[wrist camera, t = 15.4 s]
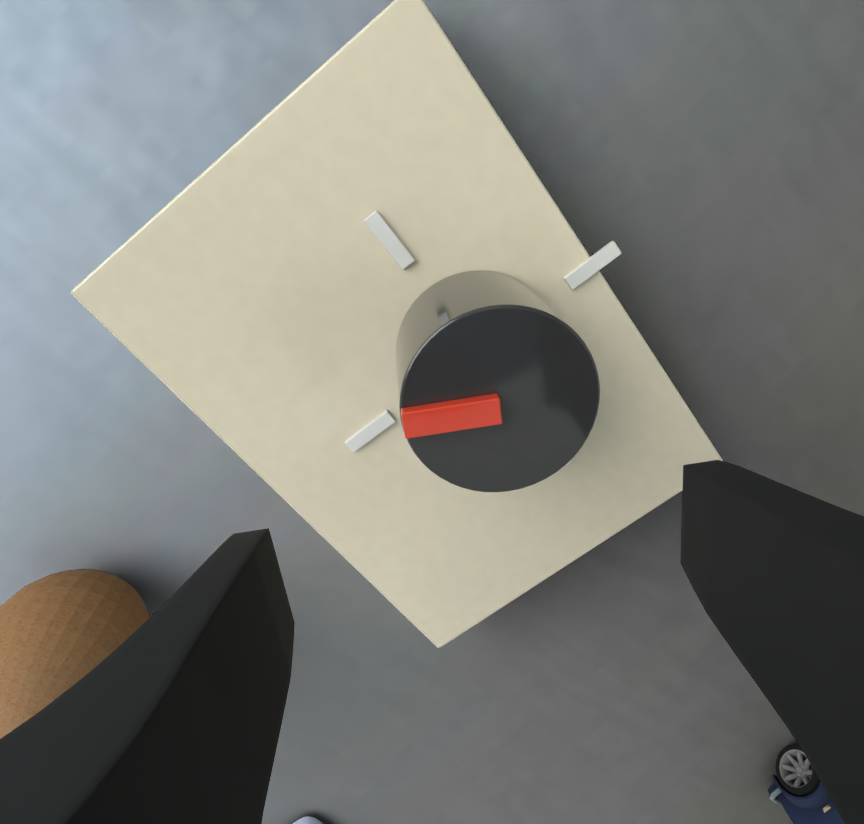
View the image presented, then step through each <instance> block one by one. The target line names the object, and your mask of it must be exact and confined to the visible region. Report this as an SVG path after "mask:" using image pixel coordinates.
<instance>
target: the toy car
mask: <svg viewBox="0 0 864 824" xmlns="http://www.w3.org/2000/svg"><path fill="white" fill-rule="evenodd" d="M803 759H806V760H805V761H804V760H803ZM776 771H777V776H778V777H777V776H775V775H772V778H773V780H774V781H775V783H773V784H772V785H771V786H770V787H769V789H768V792H769V798H770V800H771V801H773V802H775V803H777V804H779V805H781V806H783V808H784V809H785V811H786V812H787V814H788V816H789V817H790V819H791V821H792V822H793V824H845V823H844V821H843V819H842V818H841V816H840V814H839V812H838V811H837V809H836V807H835V805H834V804H833V802H832V800H831V798H830V797H829V795H828V793H827V791H826V790H825V788H824V786H823V785H822V783H821V781H820V779H819V778H818V776H817V774H816V772H815V771H814V769H813V767H812V765H811V764H810V762H809V760H808V759H807V757H806V755H805V753H804V752H803V750H802V749H801V747H800V746H799V745H791V746H788V747H786V748H785V749H783V751H782V752H781V753H780V754H779V756H778V759H777V763H776ZM796 778H797V779H796ZM795 779H796V780H795Z"/></svg>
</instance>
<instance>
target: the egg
mask: <svg viewBox="0 0 864 824" xmlns="http://www.w3.org/2000/svg"><path fill="white" fill-rule="evenodd" d="M149 618H150V614H149V611H148V609H147V607H146V605H145V603H144V601H143V600H142V598H141V596H140V594H139V593H138V592H137V591H136V590H135V589H134V588H133V587H132V586H131V585H130V584H128V583H127V582H126V581H124V580H123V579H121V578H119V577H117V576H115V575H112V574H110V573H107V572H104V571H99V570H94V569H77V570H69V571H63V572H59V573H55V574H51V575H49V576H46V577H44V578H42V579H39V580H37V581H35V582H33V583H31V584H29V585H27V586H25V587H24V588H22V589H21V590H20V591H19V592H17V593H16V594H15V595H14V596H12V597H11V598H10V599H9V600H8V601H6V602H5V603H4V604H3V605H2V606H0V739H1V738H2V737H4V736H5V735H7V734H8V733H10V732H11V731H12V730H14V729H15V728H17V727H18V726H20V725H21V724H22V723H24V722H25V721H27V720H28V719H30V718H31V717H32V716H34V715H35V714H37V713H38V712H39V711H41V710H42V709H43V708H45V707H46V706H47V705H49V704H50V703H51V702H53V701H54V700H55V699H56V698H58V697H59V696H60V695H62V694H63V693H64V692H65V691H67V690H68V689H69V688H70V687H72V686H73V685H74V684H75V683H77V682H78V681H79V680H80V679H82V678H83V677H84V676H85V675H87V674H88V673H89V672H90V671H91V670H93V669H94V668H95V667H96V666H97V665H99V664H100V663H101V662H102V661H103V660H104V659H105V658H107V657H108V656H109V655H110V654H111V653H112V652H113V651H115V650H116V649H117V648H118V647H119V646H120V645H121V644H122V643H123V642H124V641H125V640H126V639H127V638H128V637H130V636H131V635H132V634H133V633H134V632H135V631H136V630H137V629H138V628H139V627H140V626H141V625H142V624H143V623H145V622H146V621H147V620H148V619H149Z"/></svg>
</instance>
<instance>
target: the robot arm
mask: <svg viewBox="0 0 864 824" xmlns="http://www.w3.org/2000/svg"><path fill="white" fill-rule="evenodd" d="M681 565H682V567H683V569H684V571H685V573H686V575H687V577H688V579H689V581H690V583H691V585H692V587H693V589H694V591H695V592H696V594H697V596H698V598H699V600H700V602H701V604H702V605H703V607H704V609H705V611H706V613H707V614H708V616H709V617H710V618H711V620H712V621H713V623H714V624H715V626H716V627H717V629H718V630H719V632H720V633H721V634H722V636H723V637H724V639H725V640H726V642H727V643H728V644H729V646H730V647H731V649H732V650H733V652H734V653H735V654H736V656H737V657H738V659H739V660H740V661H741V663H742V664H743V666H744V667H745V668H746V670H747V671H748V673H749V674H750V675H751V677H752V678H753V679H754V681H755V682H756V684H757V685H758V687H759V688H760V689H761V691H762V692H763V694H764V695H765V696H766V698H767V699H768V701H769V702H770V703H771V705H772V706H773V708H774V709H775V710H776V712H777V713H778V715H779V716H780V717H781V719H782V720H783V722H784V723H785V724H786V726H787V727H788V729H789V730H790V732H791V733H792V735H793V737H794V738H795V740H796V741H797V743H798V744H799V746H800V747H801V749H802V750H803V752H804V753H805V755H806V757H807V759H808V760H809V762H810V764H811V765H812V767H813V769H814V771H815V772H816V774H817V776H818V778H819V779H820V781H821V783H822V785H823V786H824V788H825V790H826V791H827V793H828V795H829V797H830V798H831V800H832V802H833V804H834V805H835V807H836V809H837V811H838V812H839V814H840V816H841V818H842V819H843V821H844V823H845V824H864V517H863V516H861V515H858V514H855V513H853V512H850V511H848V510H845V509H842V508H840V507H837V506H835V505H832V504H830V503H827V502H825V501H822V500H820V499H817V498H815V497H812V496H810V495H808V494H805V493H803V492H800V491H798V490H795V489H793V488H791V487H788V486H786V485H783V484H781V483H778V482H776V481H774V480H771V479H769V478H766V477H764V476H762V475H759V474H757V473H754V472H752V471H749V470H746V469H744V468H741V467H739V466H736V465H733V464H730V463H727V462H724V461H721V460H713V461H707V462H700V463H694V464H687V465H683V492H682V528H681ZM293 638H294V620H293V616H292V612H291V609H290V605H289V601H288V598H287V594H286V590H285V587H284V583H283V579H282V576H281V572H280V568H279V565H278V561H277V557H276V554H275V550H274V546H273V543H272V539H271V535H270V532H269V529H262V530H256V531H249V532H243V533H236V534H233V535H232V536H230V537H229V538H228V539H227V540H226V541H225V542H224V543H223V544H222V545H221V546H220V547H219V548H218V549H217V550H216V551H215V552H214V553H213V554H212V555H211V556H210V557H209V558H208V559H207V560H206V561H205V562H204V563H203V565H202V566H201V567H200V568H199V569H198V570H197V571H196V572H195V573H194V574H193V575H192V576H191V577H190V578H189V579H188V580H187V581H186V582H185V583H184V584H183V585H182V586H181V587H180V588H179V589H178V590H177V591H176V592H175V593H174V594H173V595H172V596H171V597H170V598H169V599H168V600H167V601H166V602H165V603H164V604H163V606H161V607H160V608H159V609H158V610H157V611H156V612H155V613H154V614H153V615H152V616H151V617H150V618H149V619H148V620H147V621H146V622H145V623H143V624H142V625H141V626H140V627H139V628H138V629H137V630H136V631H135V632H134V633H133V634H132V635H131V636H130V637H128V638H127V639H126V640H125V641H124V642H123V643H122V644H121V645H120V646H119V647H118V648H117V649H116V650H115V651H113V652H112V653H111V654H110V655H109V656H108V657H107V658H105V659H104V660H103V661H102V662H101V663H100V664H99V665H97V666H96V667H95V668H94V669H93V670H91V671H90V672H89V673H88V674H87V675H85V676H84V677H83V678H82V679H80V680H79V681H78V682H77V683H75V684H74V685H73V686H72V687H70V688H69V689H68V690H67V691H65V692H64V693H63V694H62V695H60V696H59V697H58V698H56V699H55V700H54V701H53V702H51V703H50V704H49V705H47V706H46V707H45V708H43V709H42V710H41V711H39V712H38V713H37V714H35V715H34V716H32V717H31V718H30V719H28V720H27V721H25V722H24V723H22V724H21V725H20V726H18V727H17V728H15V729H14V730H12V731H11V732H10V733H8V734H7V735H5V736H4V737H2V738H1V739H0V824H261V822H262V816H263V810H264V805H265V800H266V795H267V791H268V786H269V781H270V776H271V771H272V767H273V762H274V757H275V752H276V747H277V743H278V738H279V733H280V728H281V723H282V718H283V713H284V708H285V703H286V698H287V693H288V688H289V683H290V678H291V666H292V654H293ZM292 824H323V823H322V822H320V821H319V820H317V819H316V818H314V817H309V816H308V817H303V818H300V819H299V820H297V821H295V822H294V823H292Z"/></svg>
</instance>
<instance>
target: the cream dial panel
mask: <svg viewBox="0 0 864 824" xmlns="http://www.w3.org/2000/svg"><path fill="white" fill-rule="evenodd" d="M620 254H622V253H621V251H620V250H619V248H618V246H617V245H616V243H615V242H614V241H611V242H609V243H608V244H607V245H605V246H604V247H603V248H601V249H600V250H599V251H597V252H596V253H595V254H593V255H592V256H591V257H590V255H589V254H588V252H587V251H586V249H585V248H584V246H583V245H582V243H581V241H580V240H579V238H578V237H577V235H576V234H575V232H574V231H573V229H572V228H571V226H570V225H569V223H568V221H567V220H566V218H565V217H564V215H563V214H562V212H561V211H560V209H559V208H558V206H557V205H556V203H555V202H554V200H553V198H552V197H551V195H550V194H549V192H548V191H547V189H546V188H545V186H544V185H543V183H542V182H541V180H540V178H539V177H538V175H537V174H536V172H535V171H534V169H533V168H532V166H531V165H530V163H529V162H528V160H527V159H526V157H525V155H524V154H523V152H522V151H521V149H520V148H519V146H518V145H517V143H516V142H515V140H514V139H513V137H512V136H511V134H510V132H509V131H508V129H507V128H506V126H505V125H504V123H503V122H502V120H501V119H500V117H499V116H498V114H497V112H496V111H495V109H494V108H493V106H492V105H491V103H490V102H489V100H488V99H487V97H486V96H485V94H484V93H483V91H482V89H481V88H480V86H479V85H478V83H477V82H476V80H475V79H474V77H473V76H472V74H471V73H470V71H469V69H468V68H467V66H466V65H465V63H464V62H463V60H462V59H461V57H460V56H459V54H458V53H457V51H456V50H455V48H454V46H453V45H452V43H451V42H450V40H449V39H448V37H447V36H446V34H445V33H444V31H443V30H442V28H441V27H440V25H439V23H438V22H437V20H436V19H435V17H434V16H433V14H432V13H431V11H430V10H429V8H428V7H427V5H426V3H425V2H424V0H394V1H393V2H392V3H391V4H389V5H388V6H387V7H386V8H385V9H384V10H383V11H382V12H381V13H379V14H378V15H377V16H376V17H375V18H374V19H373V20H372V21H371V22H369V23H368V24H367V25H366V26H365V27H364V28H363V29H362V30H361V31H359V32H358V33H357V34H356V35H355V36H354V37H353V38H352V39H351V40H349V41H348V42H347V43H346V44H345V45H344V46H343V47H342V48H341V49H339V50H338V51H337V52H336V53H335V54H334V55H333V56H332V57H331V58H329V59H328V60H327V61H326V62H325V63H324V64H323V65H322V66H321V67H319V68H318V69H317V70H316V71H315V72H314V73H313V74H312V75H310V76H309V77H308V78H307V79H306V80H305V81H304V82H303V83H302V84H300V85H299V86H298V87H297V88H296V89H295V90H294V91H293V92H292V93H290V94H289V95H288V96H287V97H286V98H285V99H284V100H283V101H282V102H280V103H279V104H278V105H277V106H276V107H275V108H274V109H273V110H272V111H270V112H269V113H268V114H267V115H266V116H265V117H264V118H263V119H262V120H260V121H259V122H258V123H257V124H256V125H255V126H254V127H253V128H252V129H250V130H249V131H248V132H247V133H246V134H245V135H244V136H243V137H241V138H240V139H239V140H238V141H237V142H236V143H235V144H234V145H233V146H231V147H230V148H229V149H228V150H227V151H226V152H225V153H224V154H223V155H221V156H220V157H219V158H218V159H217V160H216V161H215V162H214V163H213V164H211V165H210V166H209V167H208V168H207V169H206V170H205V171H204V172H203V173H201V174H200V175H199V176H198V177H197V178H196V179H195V180H194V181H193V182H191V183H190V184H189V185H188V186H187V187H186V188H185V189H184V190H183V191H181V192H180V193H179V194H178V195H177V196H176V197H175V198H174V199H172V200H171V201H170V202H169V203H168V204H167V205H166V206H165V207H164V208H162V209H161V210H160V211H159V212H158V213H157V214H156V215H155V216H154V217H152V218H151V219H150V220H149V221H148V222H147V223H146V224H145V225H144V226H142V227H141V228H140V229H139V230H138V231H137V232H136V233H135V234H134V235H132V236H131V237H130V238H129V239H128V240H127V241H126V242H125V243H124V244H122V245H121V246H120V247H119V248H118V249H117V250H116V251H115V252H114V253H112V254H111V255H110V256H109V257H108V258H107V259H106V260H105V261H103V262H102V263H101V264H100V265H99V266H98V267H97V268H96V269H95V270H93V271H92V272H91V273H90V274H89V275H88V276H87V277H86V278H85V279H83V280H82V281H81V282H80V283H79V284H78V285H77V286H76V287H75V288H73V289H72V291H71V294H72V295H73V296H74V297H75V298H76V299H77V300H78V301H79V302H80V303H81V304H82V305H83V306H84V307H85V308H86V309H87V310H88V311H89V312H90V313H91V314H92V315H94V316H95V317H96V318H97V319H98V320H99V321H100V322H101V323H102V324H103V325H104V326H105V327H106V328H107V329H108V330H109V331H110V332H111V333H112V334H113V335H114V336H115V337H116V338H117V339H118V340H119V341H120V342H121V343H123V344H124V345H125V346H126V347H127V348H128V349H129V350H130V351H131V352H132V353H133V354H134V355H135V356H136V357H137V358H138V359H139V360H140V361H141V362H142V363H143V364H144V365H145V366H146V367H147V368H148V369H149V370H150V371H151V372H153V373H154V374H155V375H156V376H157V377H158V378H159V379H160V380H161V381H162V382H163V383H164V384H165V385H166V386H167V387H168V388H169V389H170V390H171V391H172V392H173V393H174V394H175V395H176V396H177V397H178V398H179V399H180V400H182V401H183V402H184V403H185V404H186V405H187V406H188V407H189V408H190V409H191V410H192V411H193V412H194V413H195V414H196V415H197V416H198V417H199V418H200V419H201V420H202V421H203V422H204V423H205V424H206V425H207V426H208V427H209V428H211V429H212V430H213V431H214V432H215V433H216V434H217V435H218V436H219V437H220V438H221V439H222V440H223V441H224V442H225V443H226V444H227V445H228V446H229V447H230V448H231V449H232V450H233V451H234V452H235V453H236V454H237V455H238V456H240V457H241V458H242V459H243V460H244V461H245V462H246V463H247V464H248V465H249V466H250V467H251V468H252V469H253V470H254V471H255V472H256V473H257V474H258V475H259V476H260V477H261V478H262V479H263V480H264V481H265V482H266V483H267V484H269V485H270V486H271V487H272V488H273V489H274V490H275V491H276V492H277V493H278V494H279V495H280V496H281V497H282V498H283V499H284V500H285V501H286V502H287V503H288V504H289V505H290V506H291V507H292V508H293V509H294V510H295V511H296V512H297V513H299V514H300V515H301V516H302V517H303V518H304V519H305V520H306V521H307V522H308V523H309V524H310V525H311V526H312V527H313V528H314V529H315V530H316V531H317V532H318V533H319V534H320V535H321V536H322V537H323V538H324V539H325V540H326V541H328V542H329V543H330V544H331V545H332V546H333V547H334V548H335V549H336V550H337V551H338V552H339V553H340V554H341V555H342V556H343V557H344V558H345V559H346V560H347V561H348V562H349V563H350V564H351V565H352V566H353V567H354V568H355V569H357V570H358V571H359V572H360V573H361V574H362V575H363V576H364V577H365V578H366V579H367V580H368V581H369V582H370V583H371V584H372V585H373V586H374V587H375V588H376V589H377V590H378V591H379V592H380V593H381V594H382V595H383V596H384V597H386V598H387V599H388V600H389V601H390V602H391V603H392V604H393V605H394V606H395V607H396V608H397V609H398V610H399V611H400V612H401V613H402V614H403V615H404V616H405V617H406V618H407V619H408V620H409V621H410V622H411V623H412V624H413V625H415V626H416V627H417V628H418V629H419V630H420V631H421V632H422V633H423V634H424V635H425V636H426V637H427V638H428V639H429V640H430V641H431V642H432V643H433V644H434V645H435V646H436V647H437V648H441V647H442V646H444V645H445V644H447V643H448V642H450V641H452V640H453V639H455V638H456V637H458V636H459V635H461V634H462V633H464V632H465V631H467V630H468V629H470V628H472V627H473V626H475V625H476V624H478V623H479V622H481V621H482V620H484V619H485V618H487V617H488V616H490V615H492V614H493V613H495V612H496V611H498V610H499V609H501V608H502V607H504V606H505V605H507V604H508V603H510V602H512V601H513V600H515V599H516V598H518V597H519V596H521V595H522V594H524V593H525V592H527V591H529V590H530V589H532V588H533V587H535V586H536V585H538V584H539V583H541V582H542V581H544V580H545V579H547V578H549V577H550V576H552V575H553V574H555V573H556V572H558V571H559V570H561V569H562V568H564V567H565V566H567V565H569V564H570V563H572V562H573V561H575V560H576V559H578V558H579V557H581V556H582V555H584V554H585V553H587V552H589V551H590V550H592V549H593V548H595V547H596V546H598V545H599V544H601V543H602V542H604V541H606V540H607V539H609V538H610V537H612V536H613V535H615V534H616V533H618V532H619V531H621V530H622V529H624V528H626V527H627V526H629V525H630V524H632V523H633V522H635V521H636V520H638V519H639V518H641V517H642V516H644V515H646V514H647V513H649V512H650V511H652V510H653V509H655V508H656V507H658V506H659V505H661V504H663V503H664V502H666V501H667V500H669V499H670V498H672V497H673V496H675V495H676V494H678V493H679V492H681V491H683V465H687V464H694V463H700V462H707V461H713V460H721V461H723V459H722V458H721V456H720V455H719V453H718V452H717V450H716V449H715V447H714V446H713V444H712V443H711V441H710V439H709V438H708V436H707V435H706V433H705V432H704V430H703V429H702V427H701V426H700V424H699V423H698V421H697V420H696V418H695V416H694V415H693V413H692V412H691V410H690V409H689V407H688V406H687V404H686V403H685V401H684V400H683V398H682V396H681V395H680V393H679V392H678V390H677V389H676V387H675V386H674V384H673V383H672V381H671V380H670V378H669V377H668V375H667V373H666V372H665V370H664V369H663V367H662V366H661V364H660V363H659V361H658V360H657V358H656V357H655V355H654V354H653V352H652V350H651V349H650V347H649V346H648V344H647V343H646V341H645V340H644V338H643V337H642V335H641V334H640V332H639V330H638V329H637V327H636V326H635V324H634V323H633V321H632V320H631V318H630V317H629V315H628V314H627V312H626V311H625V309H624V307H623V306H622V304H621V303H620V301H619V300H618V298H617V297H616V295H615V294H614V292H613V291H612V289H611V287H610V286H609V284H608V283H607V281H606V280H605V278H604V277H603V275H602V274H601V272H600V271H599V270H600V269H602V268H603V267H604V266H606V265H607V264H608V263H610V262H611V261H612V260H614V259H615V258H616V257H618V256H619V255H620ZM476 270H483V271H494V272H499V273H503V274H506V275H509V276H512V277H514V278H516V279H518V280H520V281H521V282H523V283H524V284H526V285H527V286H529V287H530V288H531V289H532V290H533V291H534V292H536V293H537V294H538V295H539V296H540V297H541V298H542V299H543V300H544V301H545V302H546V303H547V304H548V305H549V306H550V307H551V308H552V309H553V310H554V311H555V312H556V313H557V314H558V315H559V316H560V317H561V318H562V319H563V320H564V321H565V322H566V323H567V324H568V325H569V326H570V327H571V328H572V329H573V330H574V331H575V332H576V333H577V334H578V335H579V336H580V337H581V339H582V340H583V341H584V342H585V344H586V346H587V347H588V349H589V351H590V352H591V354H592V357H593V359H594V361H595V364H596V367H597V371H598V375H599V383H600V401H599V407H598V413H597V416H596V419H595V422H594V425H593V428H592V430H591V432H590V434H589V436H588V438H587V439H586V441H585V443H584V444H583V446H582V447H581V449H580V450H579V451H578V452H577V454H576V455H575V456H574V457H573V458H572V459H571V460H570V461H569V462H568V463H567V464H566V465H565V466H564V467H562V468H561V469H560V470H558V471H557V472H556V473H554V474H553V475H551V476H549V477H548V478H546V479H544V480H542V481H540V482H538V483H536V484H534V485H531V486H528V487H525V488H522V489H517V490H513V491H506V492H480V491H473V490H469V489H465V488H461V487H459V486H456V485H454V484H451V483H449V482H447V481H445V480H444V479H442V478H440V477H438V476H437V475H436V474H434V473H433V472H432V471H430V470H429V469H428V468H427V467H426V466H425V465H424V464H423V463H422V462H421V461H420V460H419V459H418V457H417V456H416V455H415V453H414V452H413V450H412V449H411V447H410V445H409V443H408V441H407V439H406V438H405V435H404V432H403V428H402V424H401V420H400V410H399V396H398V382H397V368H396V341H397V335H398V332H399V328H400V325H401V323H402V321H403V318H404V316H405V314H406V313H407V311H408V310H409V308H410V307H411V305H412V304H413V303H414V301H415V300H416V299H417V298H418V297H419V296H420V295H421V294H422V293H423V292H424V291H425V290H426V289H428V288H429V287H431V286H432V285H434V284H435V283H436V282H438V281H440V280H442V279H444V278H446V277H449V276H452V275H454V274H458V273H462V272H467V271H476Z"/></svg>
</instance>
